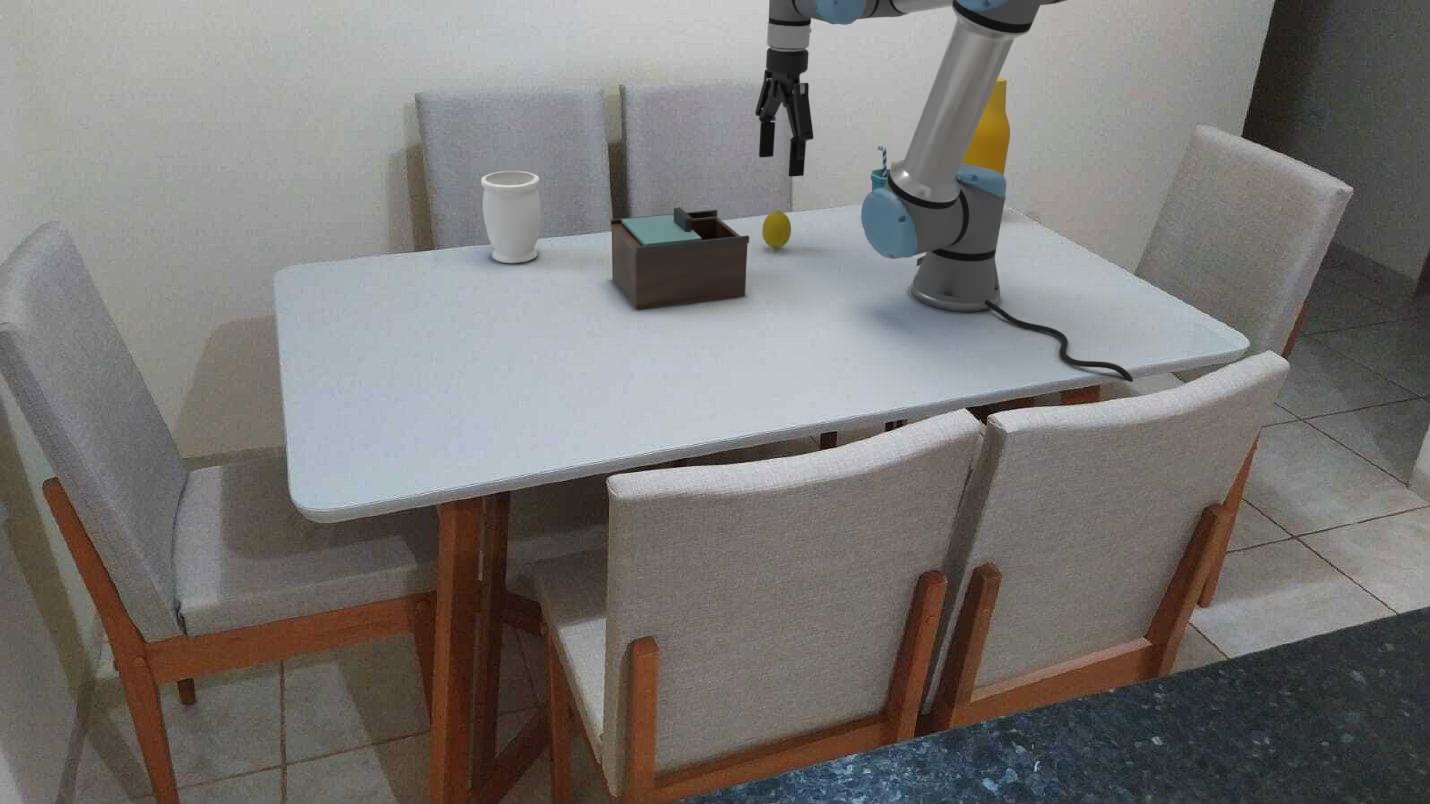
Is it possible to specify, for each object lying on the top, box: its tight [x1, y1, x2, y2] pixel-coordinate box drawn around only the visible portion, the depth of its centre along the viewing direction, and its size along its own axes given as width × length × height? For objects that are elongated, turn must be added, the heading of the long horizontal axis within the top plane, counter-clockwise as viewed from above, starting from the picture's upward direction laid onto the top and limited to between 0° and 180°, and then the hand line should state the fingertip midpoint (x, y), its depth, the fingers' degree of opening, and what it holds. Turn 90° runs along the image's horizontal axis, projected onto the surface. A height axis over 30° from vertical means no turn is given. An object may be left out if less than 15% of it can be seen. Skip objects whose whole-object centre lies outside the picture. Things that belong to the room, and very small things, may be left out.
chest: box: [610, 209, 750, 310], centre depth 183 cm, size 15×20×11 cm
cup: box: [870, 145, 896, 192], centre depth 219 cm, size 14×8×15 cm, turn 10°
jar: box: [480, 170, 542, 264], centre depth 194 cm, size 11×10×15 cm
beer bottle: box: [962, 76, 1011, 177], centre depth 221 cm, size 9×9×29 cm
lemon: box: [761, 209, 792, 251], centre depth 203 cm, size 6×6×8 cm
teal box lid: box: [621, 207, 702, 246], centre depth 179 cm, size 13×10×3 cm
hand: (780, 166), depth 197 cm, fingers open, 13 cm apart
